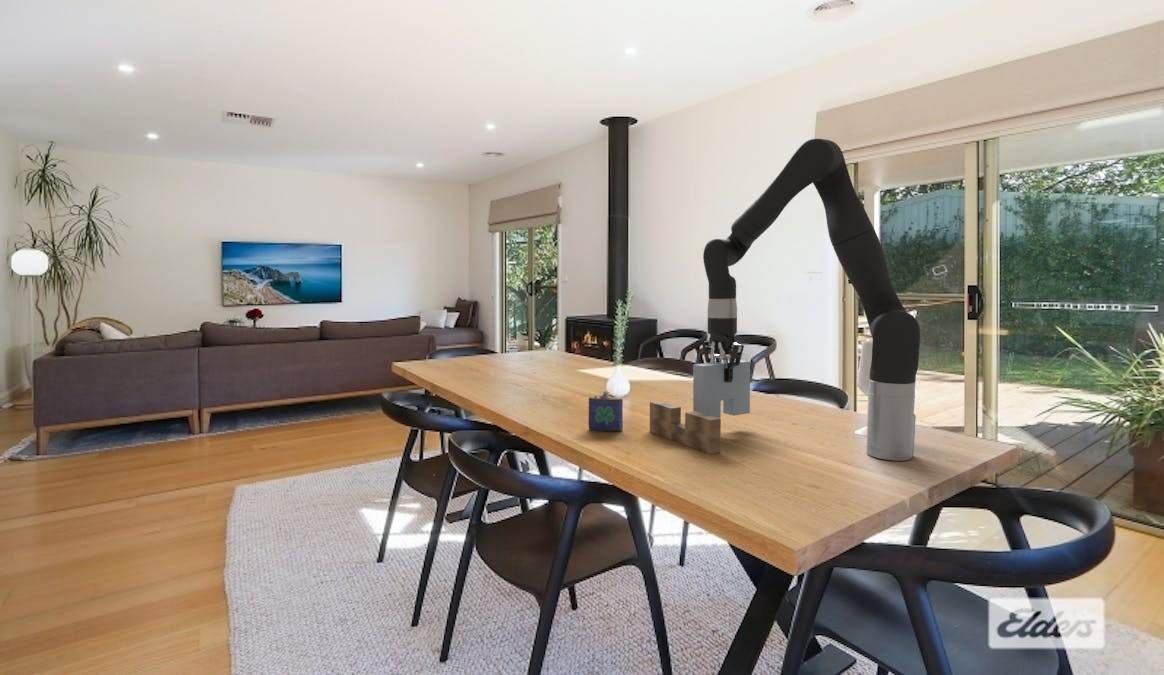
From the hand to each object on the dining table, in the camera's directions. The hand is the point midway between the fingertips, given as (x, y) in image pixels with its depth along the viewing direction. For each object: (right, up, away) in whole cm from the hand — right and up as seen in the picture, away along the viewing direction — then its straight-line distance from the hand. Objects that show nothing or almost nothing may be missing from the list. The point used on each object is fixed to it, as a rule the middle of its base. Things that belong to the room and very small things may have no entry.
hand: (722, 380), depth 157 cm
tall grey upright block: (0, -9, +1) cm, 9 cm away
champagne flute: (+38, -14, -2) cm, 40 cm away
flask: (-31, -14, +3) cm, 34 cm away
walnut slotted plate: (-12, -15, -9) cm, 21 cm away
